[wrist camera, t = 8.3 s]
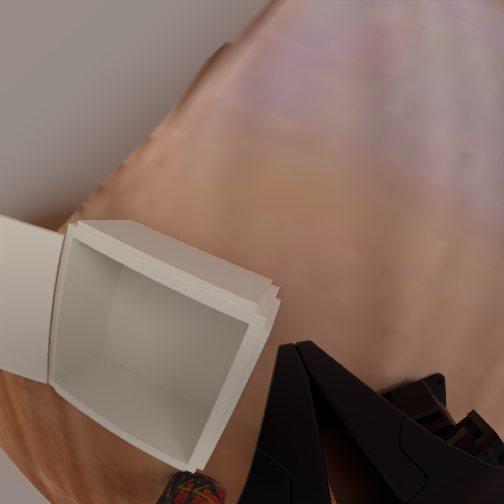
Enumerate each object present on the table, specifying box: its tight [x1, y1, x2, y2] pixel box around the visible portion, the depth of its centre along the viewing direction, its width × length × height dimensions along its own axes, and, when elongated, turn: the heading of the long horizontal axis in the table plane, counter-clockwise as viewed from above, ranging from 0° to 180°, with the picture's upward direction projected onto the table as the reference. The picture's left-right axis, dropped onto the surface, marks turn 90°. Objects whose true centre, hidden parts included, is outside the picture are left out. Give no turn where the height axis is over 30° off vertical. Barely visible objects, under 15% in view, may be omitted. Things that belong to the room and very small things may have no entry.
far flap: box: [0, 214, 65, 384], centre depth 14 cm, size 7×11×1 cm
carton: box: [49, 220, 281, 473], centre depth 18 cm, size 12×13×7 cm
